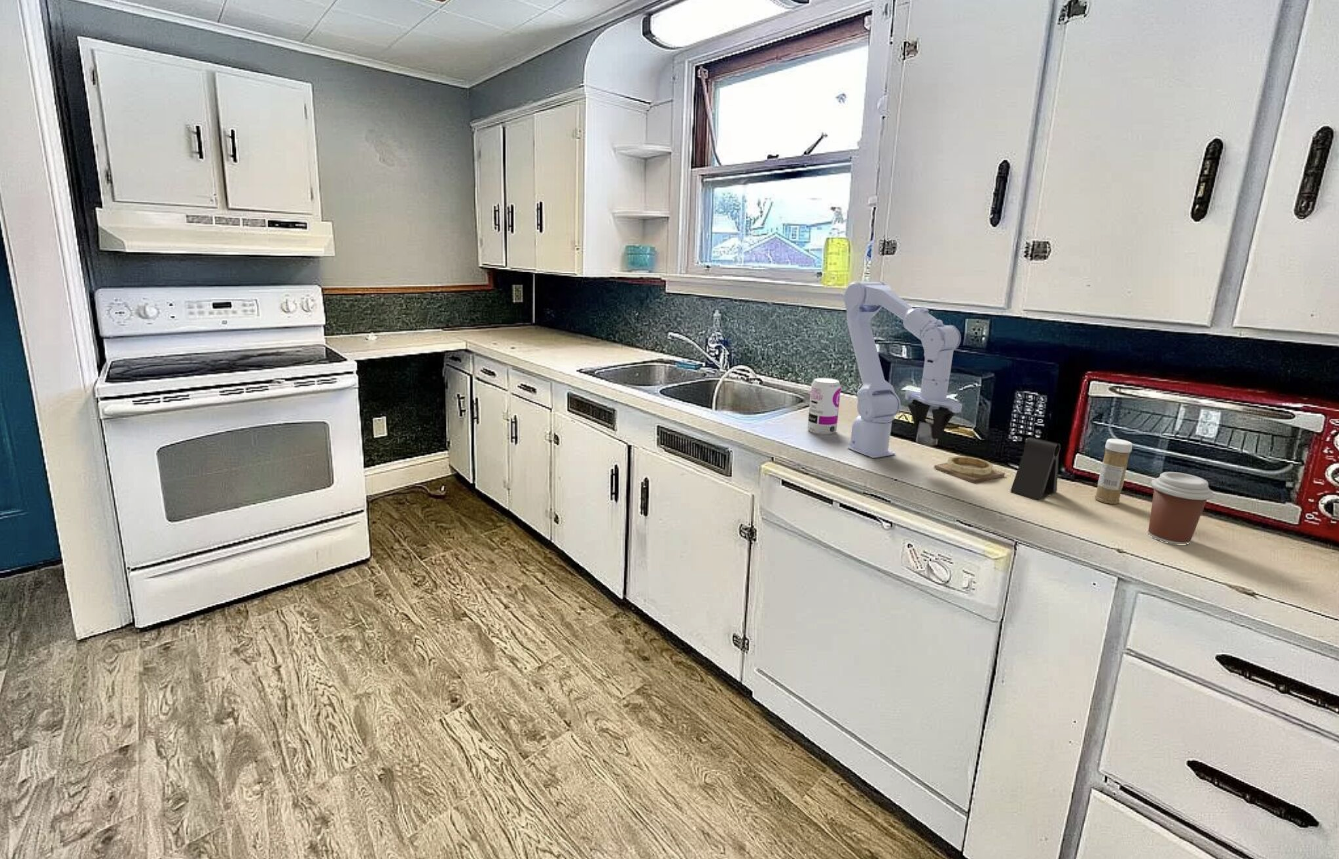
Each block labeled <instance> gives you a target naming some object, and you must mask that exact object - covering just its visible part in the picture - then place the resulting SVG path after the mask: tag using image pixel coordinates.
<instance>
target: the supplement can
mask: <svg viewBox="0 0 1339 859" xmlns="http://www.w3.org/2000/svg"><path fill="white" fill-rule="evenodd" d="M810 385H811V387H810V396H809V398H810V399H809V408H808V410H809V411H808V416H807V418H808V419H807V429H808V430H809V432H810V433H812V434H816V435H822V436H823V435H824V436H828V435H833V434H835V433H836V432H837V431H838V430H837V429H838V420H839V411H840V398H841V392H842V391H841V390H842V385H841V384H840V380H838V379H836V378H829V377H816V378H814V379H813V381H812V382H811V384H810Z"/></svg>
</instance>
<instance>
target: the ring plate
mask: <svg viewBox="0 0 1339 859" xmlns="http://www.w3.org/2000/svg"><path fill="white" fill-rule="evenodd" d="M993 467H994V465H993V463H991V462H989V461H988V460H984V459H981V458H978V457H972V456H961V455H959V456H958V455H956V456H951V457H949V458H948V460H947V462H945V463H939V464H935V465H934V466H933V469H934V468H936V469H935V470H937V469H938V470H937V471H940V470H941V472H943V473H945V472H947V473H946V474H948V475H950V474H951V476H954V477H956V478H959V479H962V480H965V481H967V482H970V483H972V484H976V483H980V482H985V481H990V480H993V479H998V478H1003V477H1005V474H1006V473H1005V472H1003V471H1000V470H998V469H994V468H993Z"/></svg>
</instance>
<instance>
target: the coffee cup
mask: <svg viewBox="0 0 1339 859" xmlns="http://www.w3.org/2000/svg"><path fill="white" fill-rule="evenodd" d="M1150 486H1151V488H1153V496H1152V500H1151V501H1152V502H1151V508H1150V515H1149V516H1150V517H1149V523H1148V530H1147V536H1149V535H1150V536H1152V537H1153V538H1156V539H1157V540H1161V541H1163V542H1168V543H1172V544H1187V543H1189V542H1190V543H1191V541H1192V539H1193V536H1194V533H1195V531H1196V528H1197V525H1198V523H1199V521H1200V518H1201V516H1202V514H1203V511H1204V508H1205V505H1206V503H1207V501H1208V500H1211V499H1213V497H1214V492H1213V490H1212V489H1210V487H1209V482H1208V481H1207V480H1206V479H1204V478H1202V477H1199V476H1197V475H1193V474H1189V473H1183V472H1177V471H1176V472H1175V471H1165V472H1162V473H1160V475H1159V477H1157V478H1154V479H1152V480H1151V482H1150ZM1150 536H1149V537H1150ZM1153 538H1152V539H1153ZM1157 540H1156V541H1157ZM1163 542H1162V543H1163ZM1172 544H1171V545H1172Z"/></svg>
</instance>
